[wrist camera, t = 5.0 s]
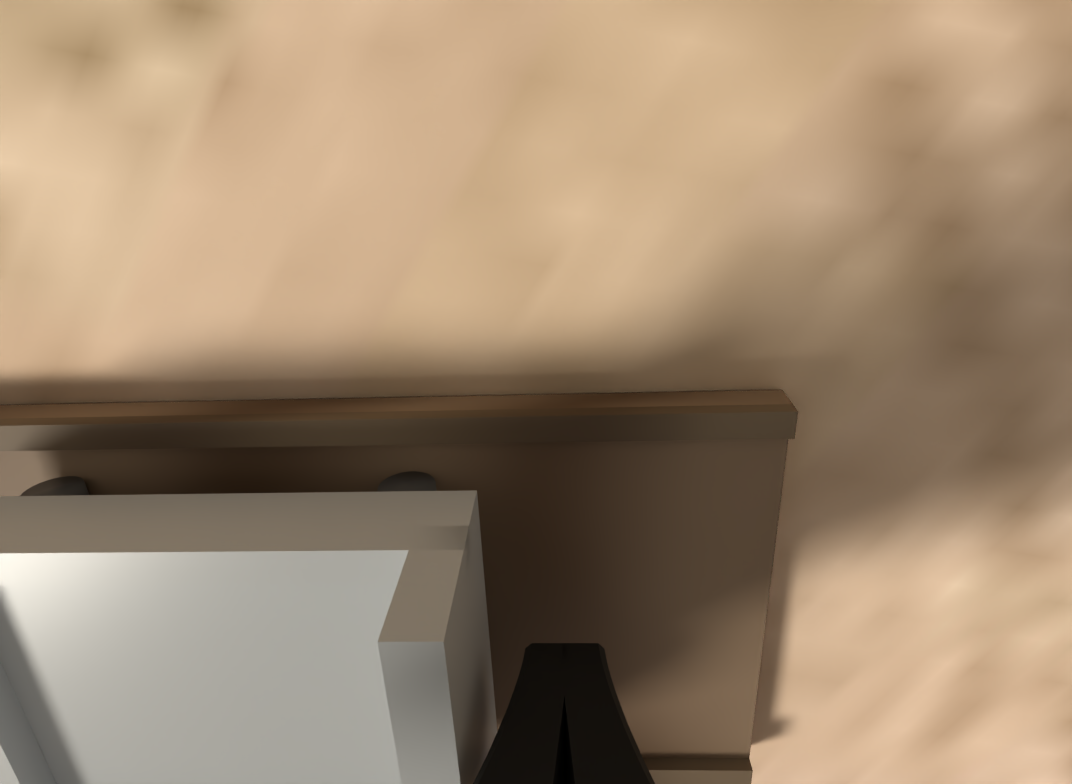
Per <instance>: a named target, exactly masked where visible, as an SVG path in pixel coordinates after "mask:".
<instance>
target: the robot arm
mask: <svg viewBox="0 0 1072 784" xmlns="http://www.w3.org/2000/svg"><path fill="white" fill-rule="evenodd" d="M473 784H655V782H654V780H653V778H652V776H651V774H650V772H649V770H648V768H647V766H646V764H645V762H644V759H643V757H642V755H641V753H640V750H639V748H638V746H637V744H636V741H635V739H634V737H633V734H632V732H631V730H630V728H629V725H628V723H627V720H626V718H625V715H624V713H623V710H622V707H621V705H620V702H619V699H618V696H617V694H616V691H615V688H614V685H613V682H612V678H611V675H610V671H609V668H608V664H607V659H606V654H605V649H604V648H603V647H602V646H601V645H600V644H599V643H531V644H530V645H529V646H527V647H526V648H525V652H524V658H523V662H522V666H521V669H520V673H519V676H518V679H517V682H516V685H515V688H514V691H513V694H512V697H511V699H510V702H509V705H508V707H507V710H506V713H505V715H504V717H503V720H502V722H501V724H500V727H499V729H498V731H497V734H496V736H495V738H494V741H493V743H492V745H491V748H490V750H489V752H488V754H487V756H486V758H485V760H484V762H483V764H482V766H481V768H480V770H479V772H478V774H477V776H476V778H475V780H474V782H473Z"/></svg>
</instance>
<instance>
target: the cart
mask: <svg viewBox="0 0 1072 784" xmlns="http://www.w3.org/2000/svg"><path fill="white" fill-rule="evenodd" d="M377 491H378V492H310V493H230V494H150V495H89V493H88V490H87V487H86V484H85V482H84V480H83V479H82V478H80V477H76V476H65V477H58V478H54V479H50V480H47V481H44V482H41V483H39V484H36V485H34V486H32V487H30V488H29V489H27V490H26V491H24V492H23V493H22V494H21V495H20V496H0V784H473V782H474V780H475V778H476V776H477V774H478V772H479V770H480V768H481V766H482V764H483V762H484V760H485V758H486V756H487V754H488V752H489V750H490V748H491V745H492V743H493V741H494V738H495V736H496V734H497V722H496V710H495V698H494V686H493V675H492V663H491V651H490V639H489V627H488V616H487V604H486V592H485V580H484V568H483V556H482V545H481V533H480V521H479V509H478V497H477V490H470V491H437V490H436V481H435V479H434V478H433V477H432V476H431V475H429V474H427V473H424V472H417V471H409V472H402V473H398V474H395V475H392V476H390V477H388V478H386V479H385V480H383V481H382V482H381V483H380V484H379V486H378V490H377Z"/></svg>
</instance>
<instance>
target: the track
mask: <svg viewBox="0 0 1072 784" xmlns="http://www.w3.org/2000/svg"><path fill="white" fill-rule="evenodd" d="M797 415H798V411H797V410H796V408H795V407H794V405H793V404H792V403H791V401H790V400H789V399H788V397H787V396H786V395H785V393H784V392H783V390H749V391H698V392H646V393H595V394H544V395H493V396H441V397H390V398H339V399H288V400H237V401H185V402H134V403H83V404H32V405H0V496H20V495H21V494H22V493H23V492H24V491H26V490H27V489H29V488H30V487H32V486H34V485H36V484H39V483H41V482H44V481H47V480H50V479H54V478H58V477H65V476H76V477H80V478H82V479H83V480H84V482H85V484H86V487H87V490H88V493H89V495H150V494H230V493H310V492H378V491H377V490H378V486H379V484H380V483H381V482H382V481H383V480H385V479H386V478H388V477H390V476H392V475H395V474H398V473H402V472H409V471H417V472H424V473H427V474H429V475H431V476H432V477H433V478H434V479H435V481H436V490H437V491H470V490H477V497H478V509H479V521H480V533H481V545H482V556H483V568H484V580H485V592H486V604H487V616H488V627H489V639H490V651H491V663H492V675H493V686H494V698H495V710H496V722H497V731H498V729H499V727H500V724H501V722H502V720H503V717H504V715H505V713H506V710H507V707H508V705H509V702H510V699H511V697H512V694H513V691H514V688H515V685H516V682H517V679H518V676H519V673H520V669H521V666H522V662H523V658H524V652H525V648H526V647H527V646H529V645H530V644H531V643H599V644H600V645H601V646H602V647H603V648H604V649H605V654H606V659H607V664H608V668H609V671H610V675H611V678H612V682H613V685H614V688H615V691H616V694H617V696H618V699H619V702H620V705H621V707H622V710H623V713H624V715H625V718H626V720H627V723H628V725H629V728H630V730H631V732H632V734H633V737H634V739H635V741H636V744H637V746H638V748H639V750H640V753H641V755H642V757H643V759H644V762H645V764H646V766H647V768H648V770H649V772H650V774H651V776H652V778H653V780H654V782H655V784H751V779H752V767H751V763H750V760H749V755H750V747H751V739H752V731H753V722H754V714H755V706H756V698H757V690H758V681H759V673H760V665H761V657H762V649H763V641H764V632H765V624H766V616H767V608H768V600H769V591H770V583H771V575H772V567H773V559H774V551H775V542H776V534H777V526H778V518H779V510H780V502H781V493H782V485H783V477H784V469H785V461H786V452H787V444H788V439H795V431H796V423H797Z"/></svg>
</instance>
